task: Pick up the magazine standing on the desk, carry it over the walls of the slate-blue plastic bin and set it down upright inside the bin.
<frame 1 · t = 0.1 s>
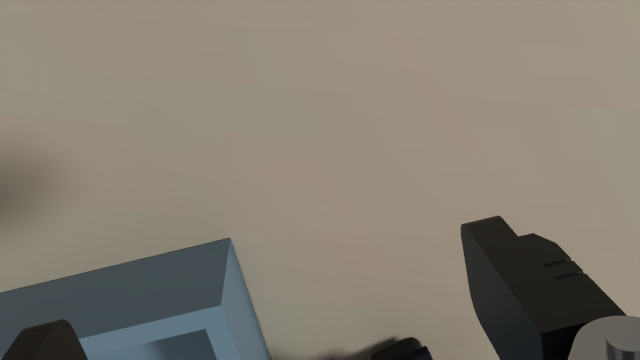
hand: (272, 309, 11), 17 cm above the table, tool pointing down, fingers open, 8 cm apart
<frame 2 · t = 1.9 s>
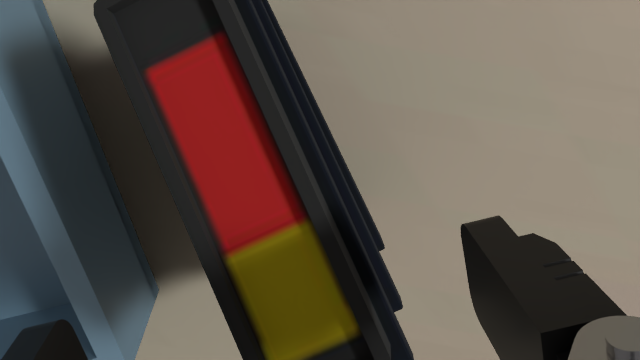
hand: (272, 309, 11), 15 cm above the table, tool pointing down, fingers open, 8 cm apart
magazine: (275, 108, 26), on the table
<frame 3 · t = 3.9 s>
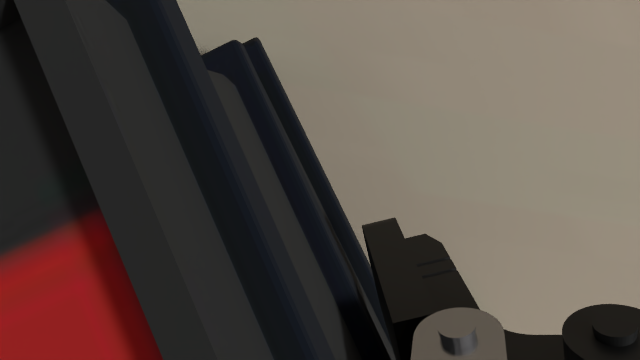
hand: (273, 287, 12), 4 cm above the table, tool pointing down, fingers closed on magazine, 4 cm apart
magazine: (274, 203, 16), on the table, touching gripper
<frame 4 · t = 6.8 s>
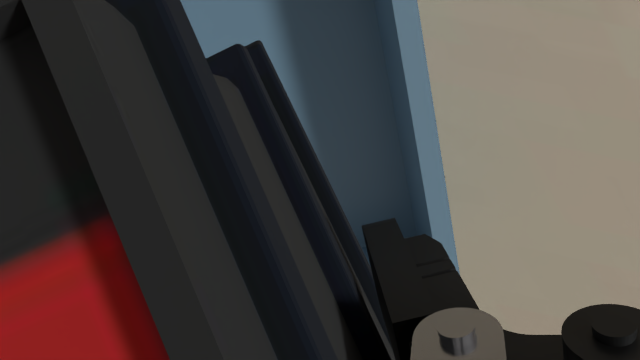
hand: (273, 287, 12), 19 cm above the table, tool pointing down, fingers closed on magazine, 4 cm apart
bin: (272, 95, 30), on the table
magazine: (275, 205, 16), point 15 cm above the table, touching gripper
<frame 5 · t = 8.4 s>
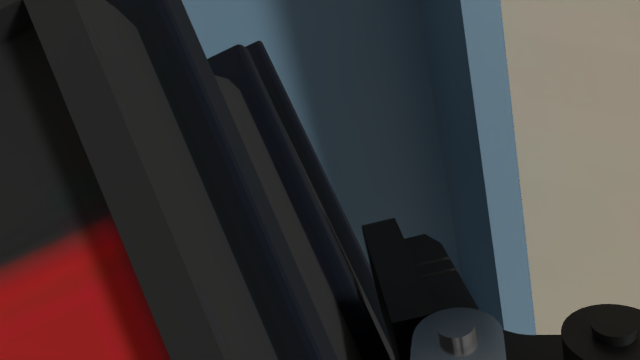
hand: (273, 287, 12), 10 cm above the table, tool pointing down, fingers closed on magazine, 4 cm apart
bin: (275, 142, 22), on the table
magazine: (275, 206, 16), point 6 cm above the table, touching gripper
when the fingers open (7 cm above the table, at t = 9.8 s): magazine drops 2 cm, resting on bin.
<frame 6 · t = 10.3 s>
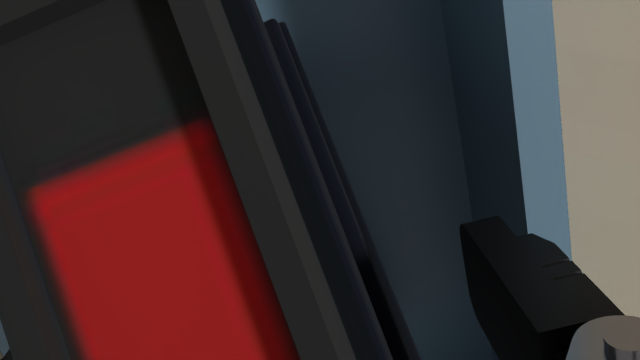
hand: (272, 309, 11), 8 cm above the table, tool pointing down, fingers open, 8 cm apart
bin: (275, 170, 19), on the table
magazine: (285, 174, 18), point 1 cm above the table, touching bin
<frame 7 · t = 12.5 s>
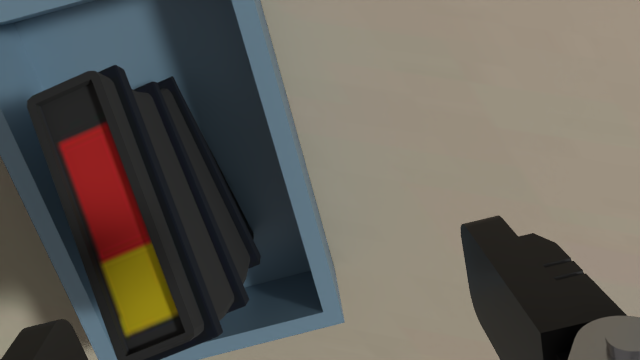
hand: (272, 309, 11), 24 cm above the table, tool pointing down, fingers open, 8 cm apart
bin: (182, 152, 35), on the table
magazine: (186, 153, 34), point 1 cm above the table, touching bin
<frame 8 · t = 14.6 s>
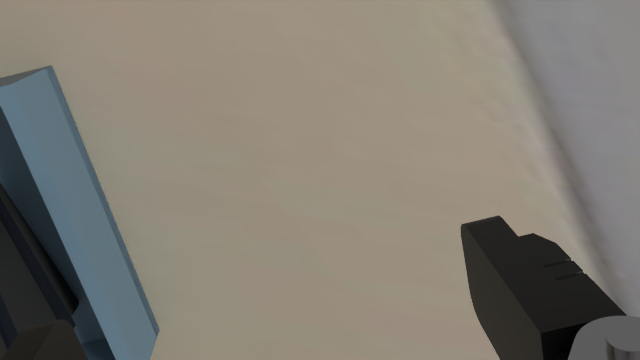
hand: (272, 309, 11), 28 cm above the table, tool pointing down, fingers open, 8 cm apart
bin: (15, 233, 41), on the table
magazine: (15, 236, 40), point 1 cm above the table, touching bin
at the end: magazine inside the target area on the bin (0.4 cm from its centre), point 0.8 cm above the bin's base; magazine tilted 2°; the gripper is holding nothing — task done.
